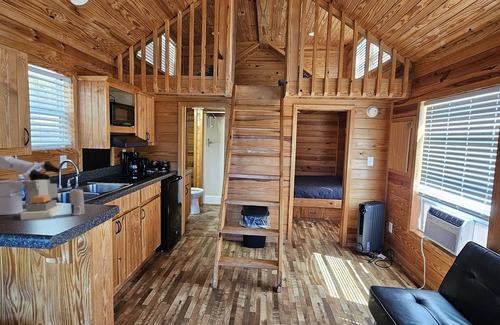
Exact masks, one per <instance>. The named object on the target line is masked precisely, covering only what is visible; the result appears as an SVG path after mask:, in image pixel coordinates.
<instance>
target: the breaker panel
mask: <svg viewBox="0 0 500 325" xmlns="http://www.w3.org/2000/svg"><path fill="white" fill-rule="evenodd" d="M62 204H63V203H61V204H60V203H57V200H56V199H52V200H49V201H46V202H42V203H30V204H28V203H27V205H26V206H25V209H26V210H25V211H23V212H20V213H19V214H20V220H25V221H26V220H44V219H48V218H49V217H51V216H53V215H55V214H57V213H59V212H61V211H63V205H62Z"/></svg>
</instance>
